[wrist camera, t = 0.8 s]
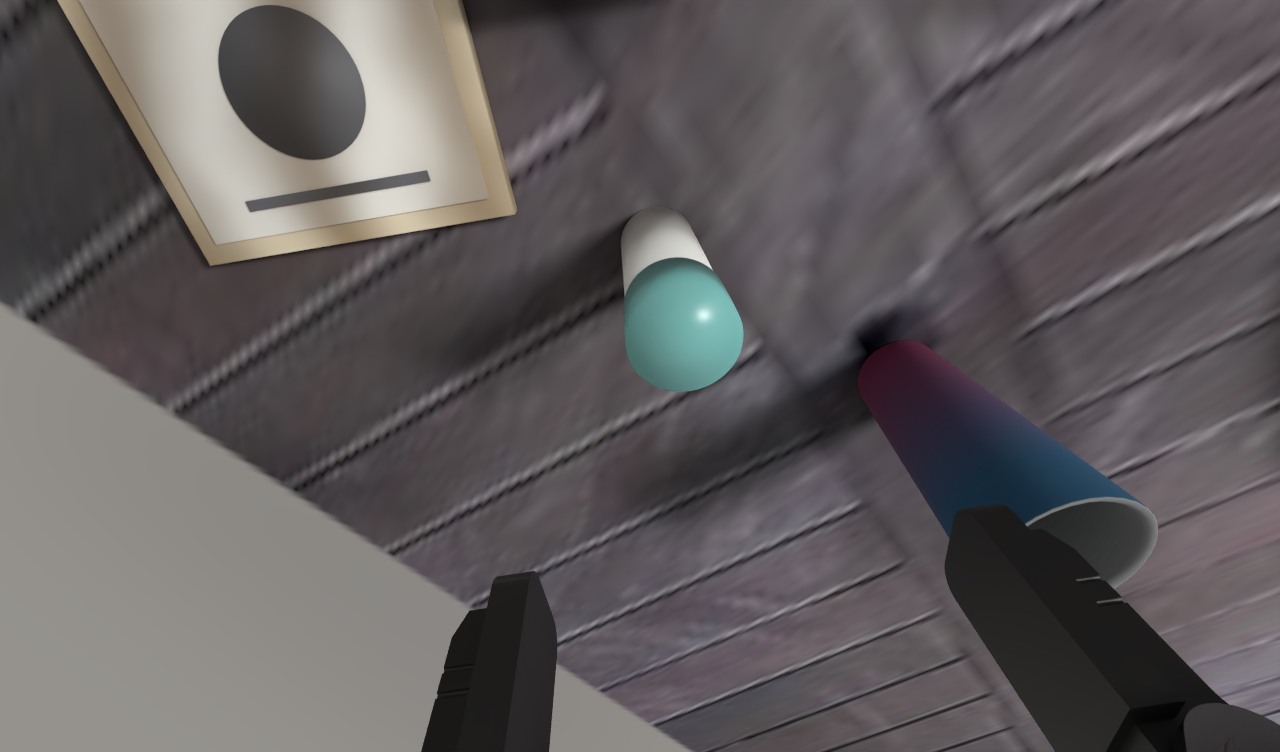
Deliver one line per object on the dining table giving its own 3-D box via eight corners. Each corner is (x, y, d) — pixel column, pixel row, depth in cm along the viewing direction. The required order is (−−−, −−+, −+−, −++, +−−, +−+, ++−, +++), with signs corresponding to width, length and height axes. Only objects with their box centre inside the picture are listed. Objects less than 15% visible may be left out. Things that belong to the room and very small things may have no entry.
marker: (691, 198, 28) (740, 275, 18) (698, 273, 30) (746, 382, 20) (612, 211, 29) (616, 296, 18) (625, 285, 31) (635, 399, 20)
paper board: (422, -150, 21) (412, -162, 20) (517, 209, 28) (513, 215, 27) (34, -75, 22) (2, -83, 21) (222, 259, 29) (206, 267, 28)
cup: (820, 387, 35) (947, 579, 22) (901, 306, 32) (1099, 469, 19) (890, 434, 37) (1043, 634, 24) (971, 362, 34) (1191, 542, 21)
